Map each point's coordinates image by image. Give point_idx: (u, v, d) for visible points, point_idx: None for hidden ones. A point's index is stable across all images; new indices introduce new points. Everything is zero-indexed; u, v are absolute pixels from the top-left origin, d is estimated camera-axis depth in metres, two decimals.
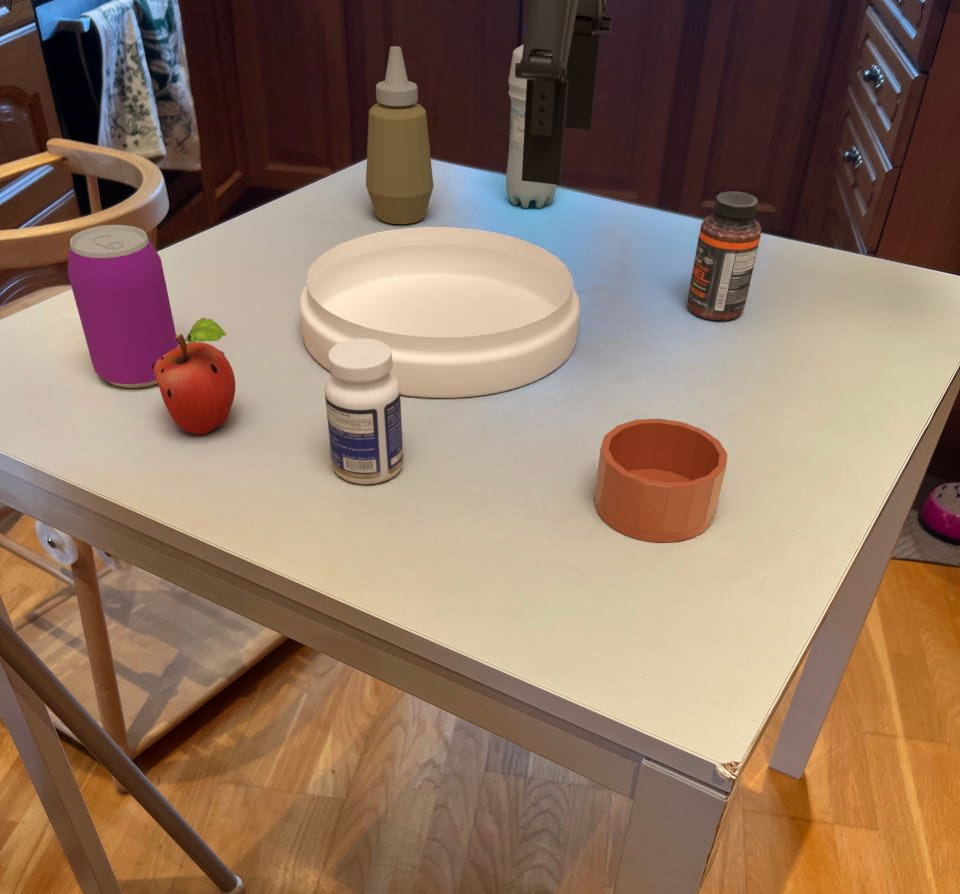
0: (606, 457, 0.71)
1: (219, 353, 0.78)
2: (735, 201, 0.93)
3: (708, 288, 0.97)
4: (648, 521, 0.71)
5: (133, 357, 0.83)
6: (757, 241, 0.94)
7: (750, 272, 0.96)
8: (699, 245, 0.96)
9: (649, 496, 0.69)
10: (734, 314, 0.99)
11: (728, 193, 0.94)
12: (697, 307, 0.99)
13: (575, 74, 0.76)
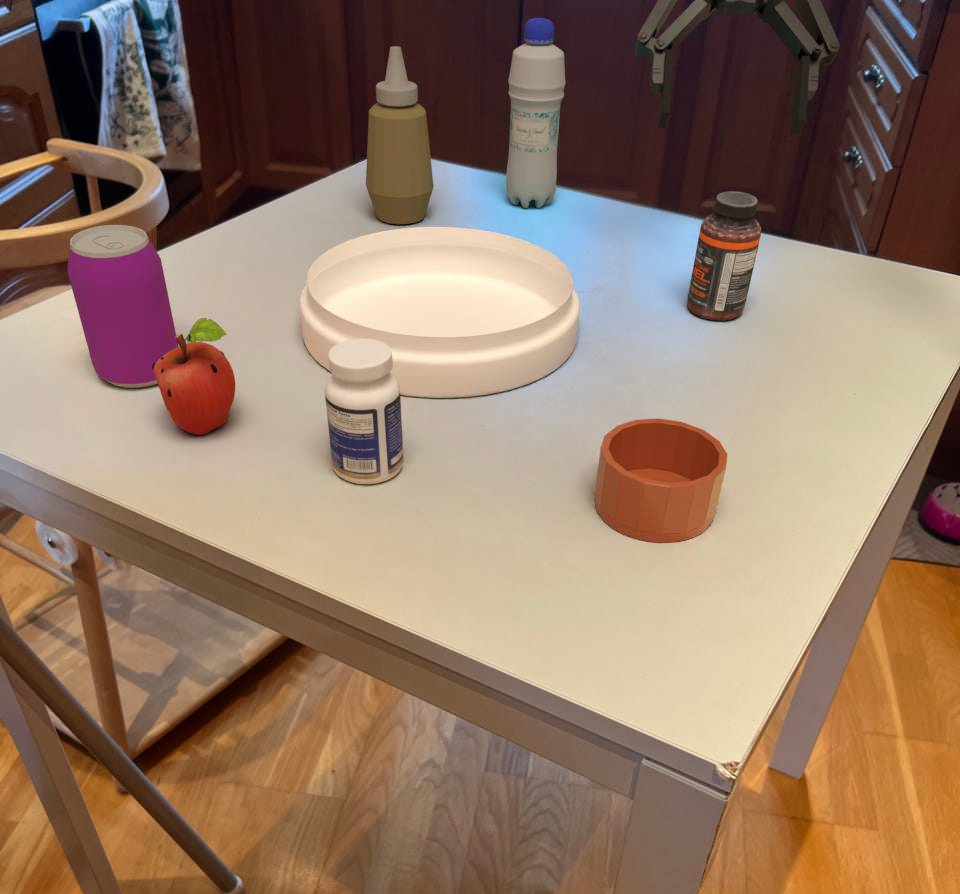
0: (606, 457, 0.71)
1: (219, 353, 0.78)
2: (735, 201, 0.93)
3: (708, 288, 0.97)
4: (648, 521, 0.71)
5: (133, 357, 0.83)
6: (757, 241, 0.94)
7: (750, 272, 0.96)
8: (699, 245, 0.96)
9: (649, 496, 0.69)
10: (734, 314, 0.99)
11: (728, 193, 0.94)
12: (697, 307, 0.99)
13: (796, 91, 0.98)
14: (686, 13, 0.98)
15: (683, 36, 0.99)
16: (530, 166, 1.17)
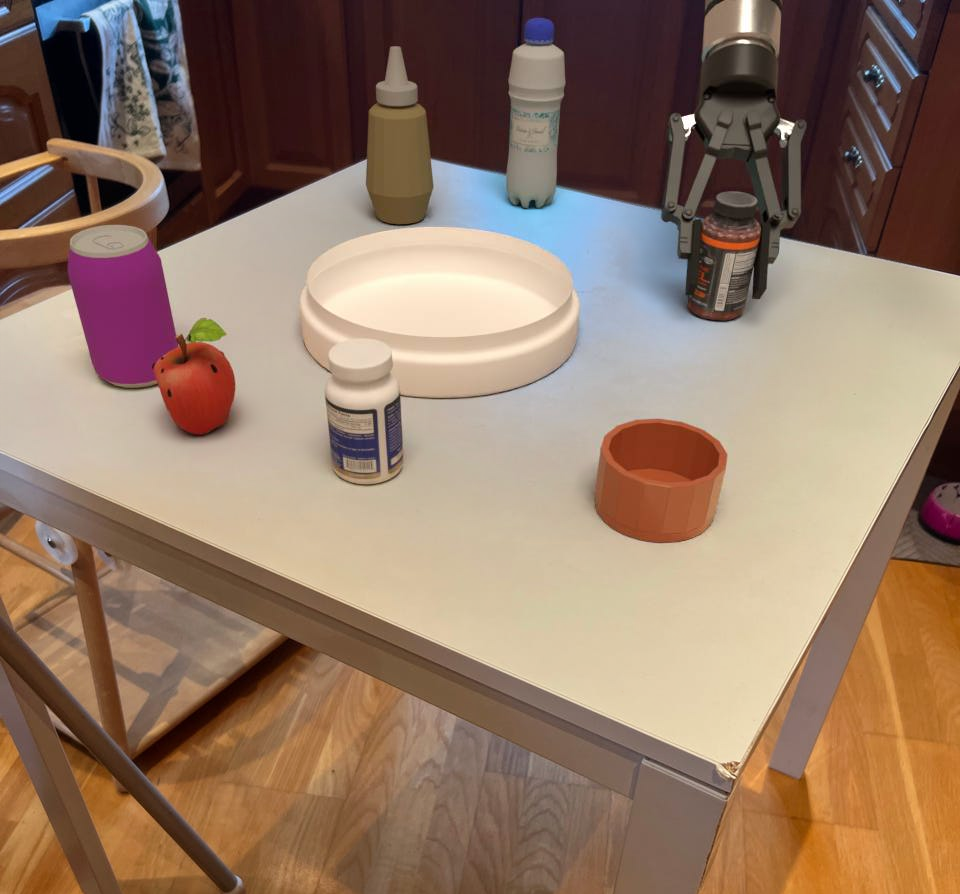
0: (606, 457, 0.71)
1: (219, 353, 0.78)
2: (734, 201, 0.93)
3: (708, 288, 0.97)
4: (648, 521, 0.71)
5: (133, 357, 0.83)
6: (757, 241, 0.94)
7: (750, 272, 0.96)
8: None
9: (649, 496, 0.69)
10: (734, 314, 0.99)
11: (728, 193, 0.94)
12: (697, 307, 0.99)
13: (757, 255, 0.96)
14: (700, 174, 0.95)
15: None
16: (530, 166, 1.17)
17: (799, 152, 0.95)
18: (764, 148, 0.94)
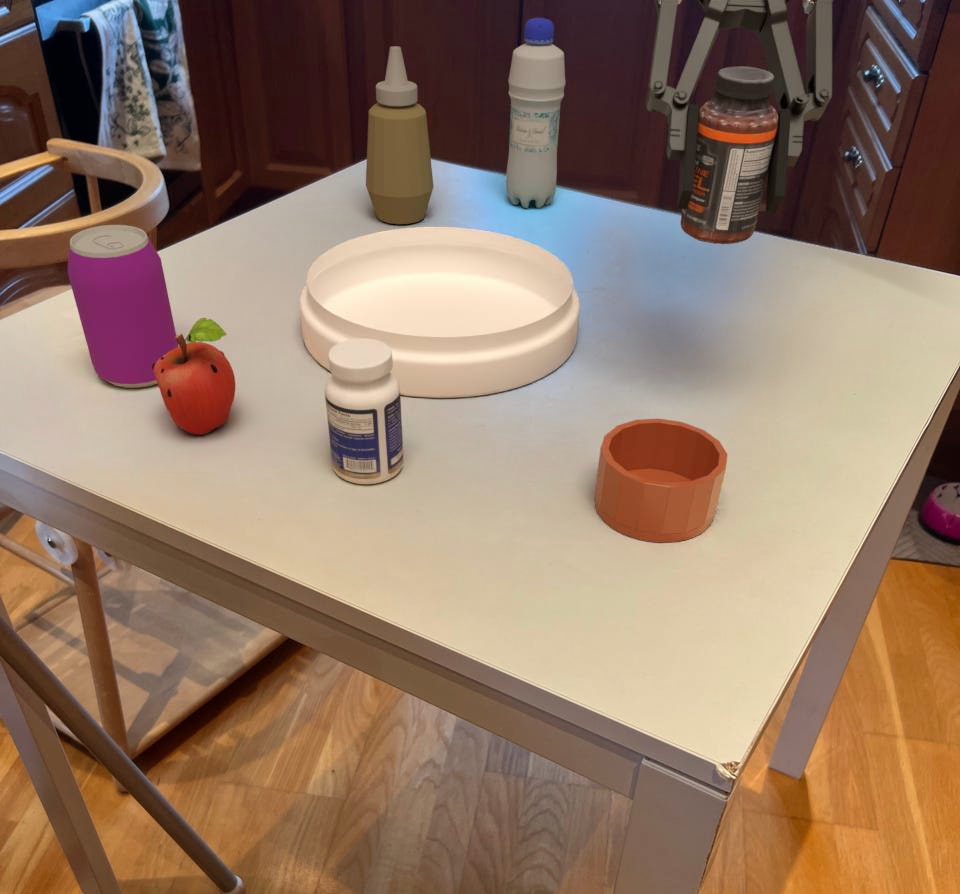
0: (606, 457, 0.71)
1: (219, 353, 0.78)
2: (743, 76, 0.69)
3: (708, 199, 0.73)
4: (648, 521, 0.71)
5: (133, 357, 0.83)
6: (773, 133, 0.71)
7: (763, 177, 0.73)
8: None
9: (649, 496, 0.69)
10: (742, 235, 0.75)
11: (734, 68, 0.70)
12: (693, 226, 0.75)
13: (772, 155, 0.72)
14: (698, 44, 0.71)
15: (700, 74, 0.73)
16: (530, 166, 1.17)
17: (830, 15, 0.71)
18: (783, 9, 0.71)
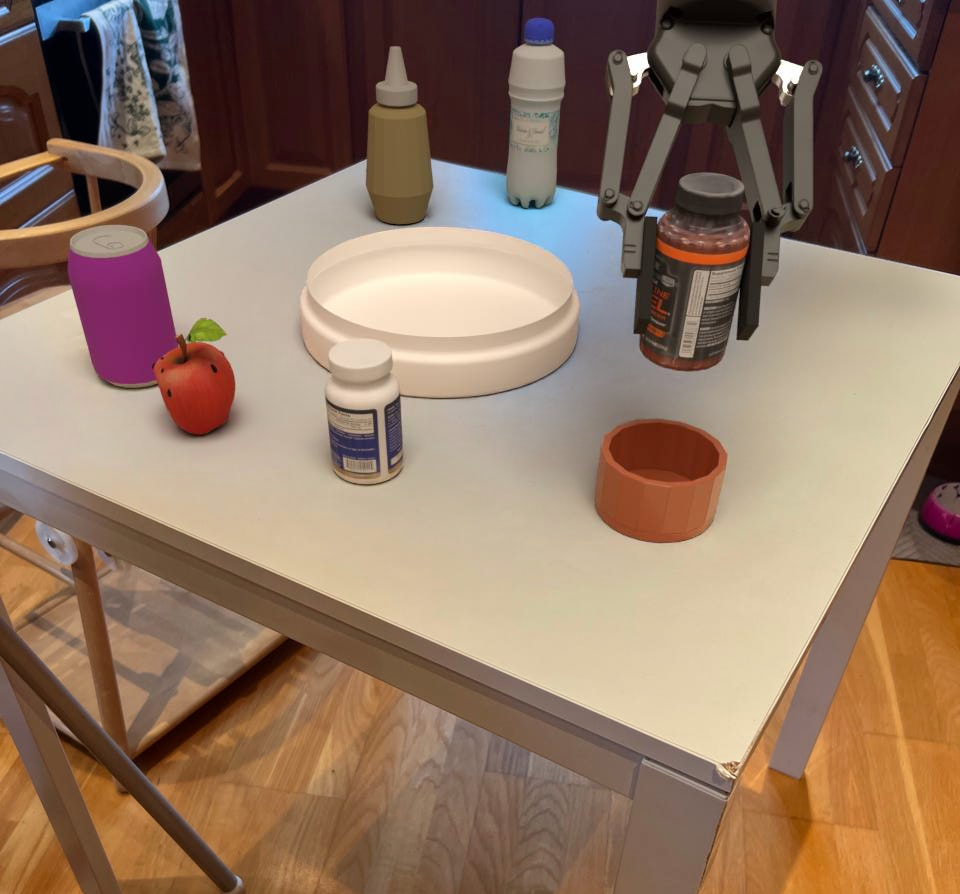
0: (606, 457, 0.71)
1: (219, 353, 0.78)
2: (708, 187, 0.58)
3: (669, 323, 0.62)
4: (648, 521, 0.71)
5: (133, 357, 0.83)
6: (744, 251, 0.60)
7: (733, 299, 0.62)
8: None
9: (649, 496, 0.69)
10: (709, 362, 0.64)
11: (698, 175, 0.60)
12: (653, 351, 0.64)
13: (744, 274, 0.62)
14: (656, 146, 0.61)
15: (659, 177, 0.62)
16: (530, 166, 1.17)
17: (811, 112, 0.60)
18: (756, 105, 0.60)
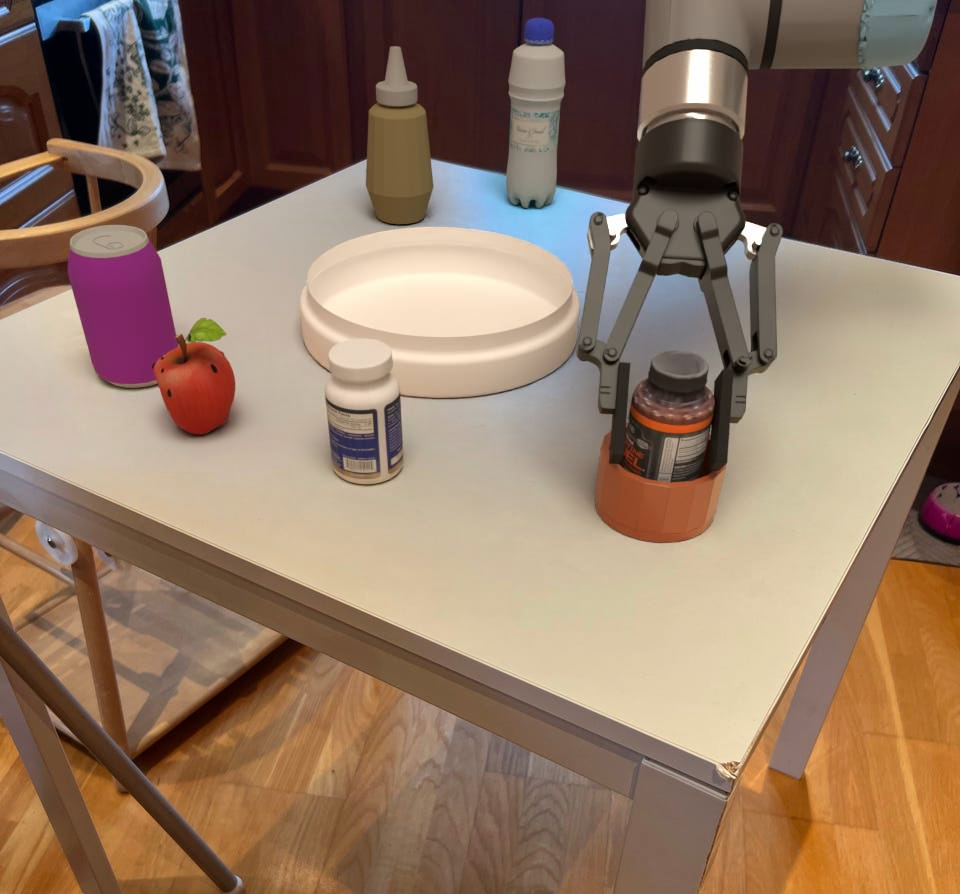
0: (606, 457, 0.71)
1: (219, 353, 0.78)
2: (676, 368, 0.66)
3: None
4: (648, 521, 0.71)
5: (133, 357, 0.83)
6: (709, 419, 0.68)
7: (701, 457, 0.70)
8: (630, 422, 0.69)
9: (649, 496, 0.69)
10: None
11: (668, 354, 0.67)
12: None
13: (715, 412, 0.68)
14: (630, 299, 0.67)
15: None
16: (530, 166, 1.17)
17: (773, 269, 0.67)
18: (723, 265, 0.67)
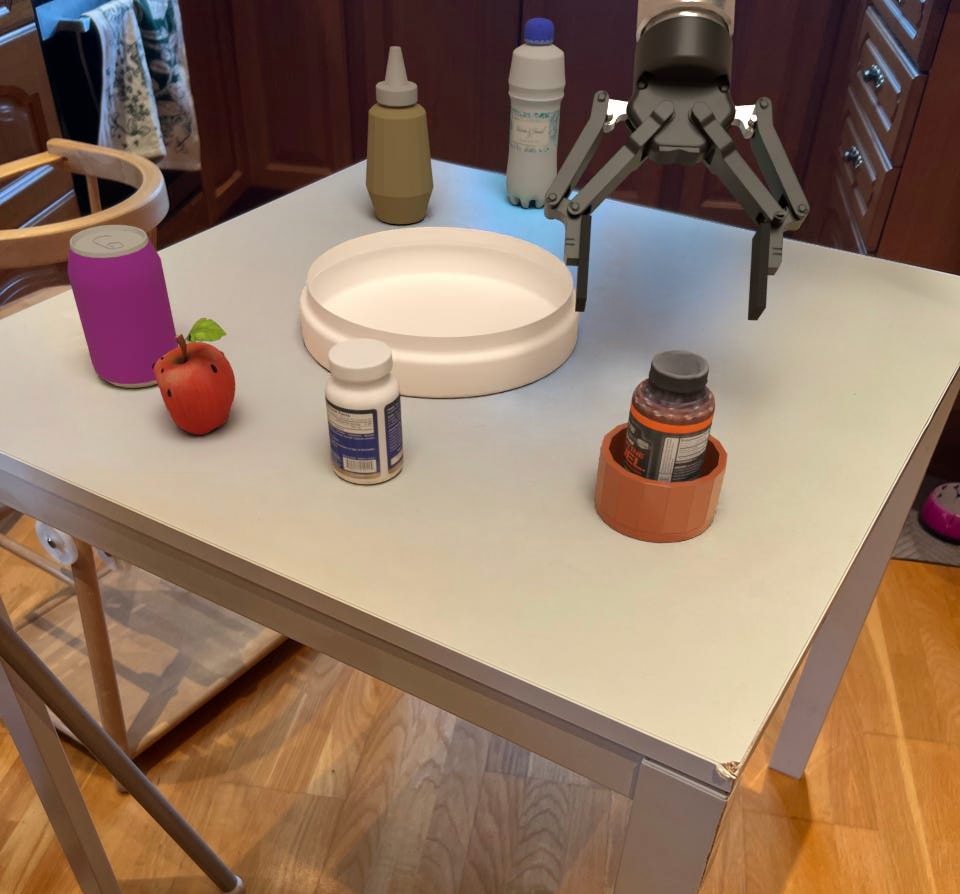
0: (606, 457, 0.71)
1: (219, 353, 0.78)
2: (677, 368, 0.66)
3: None
4: (648, 521, 0.71)
5: (133, 357, 0.83)
6: (709, 420, 0.68)
7: (701, 458, 0.70)
8: (630, 422, 0.69)
9: (649, 496, 0.69)
10: None
11: (669, 354, 0.67)
12: None
13: (753, 265, 0.75)
14: (608, 167, 0.74)
15: (606, 194, 0.76)
16: (530, 166, 1.17)
17: (776, 137, 0.74)
18: (729, 141, 0.74)
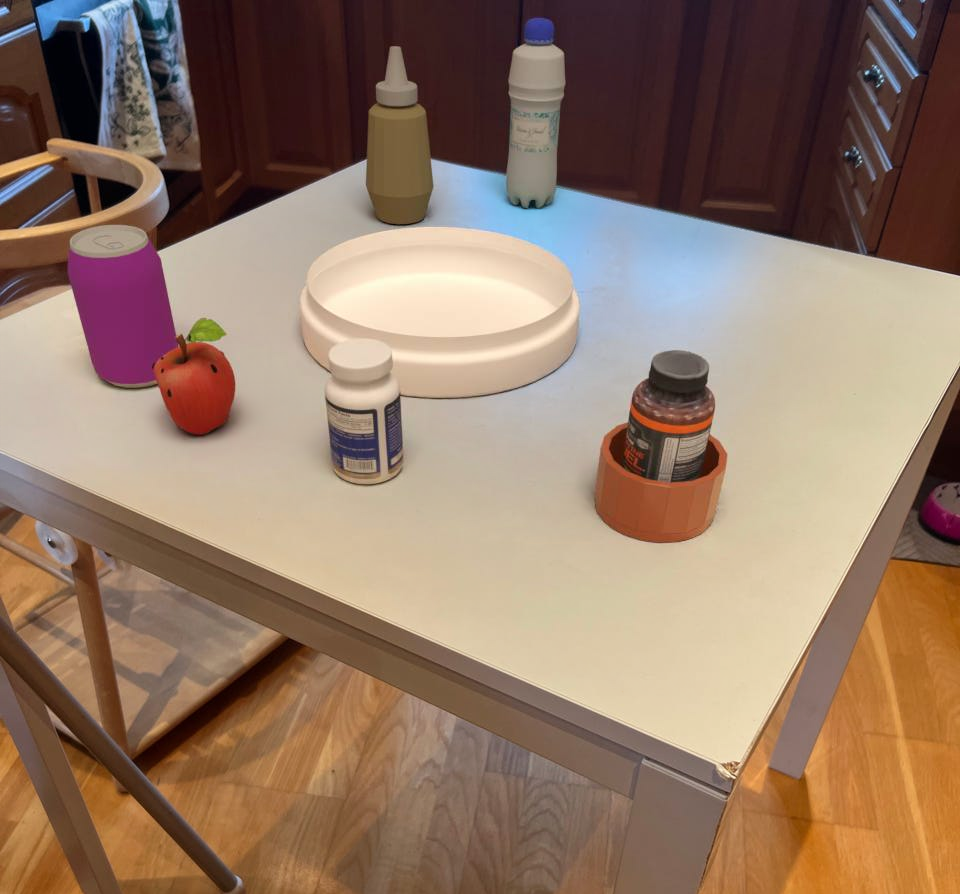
0: (606, 457, 0.71)
1: (219, 353, 0.78)
2: (677, 368, 0.66)
3: None
4: (648, 521, 0.71)
5: (133, 357, 0.83)
6: (709, 420, 0.68)
7: (701, 458, 0.70)
8: (630, 422, 0.69)
9: (649, 496, 0.69)
10: None
11: (669, 354, 0.67)
12: None
13: None
14: None
15: None
16: (530, 166, 1.17)
17: None
18: None
